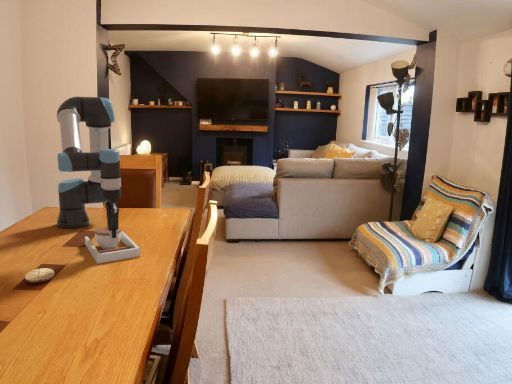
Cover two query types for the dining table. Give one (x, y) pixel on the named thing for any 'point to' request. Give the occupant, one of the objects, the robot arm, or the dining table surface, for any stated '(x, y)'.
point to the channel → (115, 254)
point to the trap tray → (114, 249)
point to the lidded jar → (106, 237)
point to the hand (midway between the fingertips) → (113, 244)
